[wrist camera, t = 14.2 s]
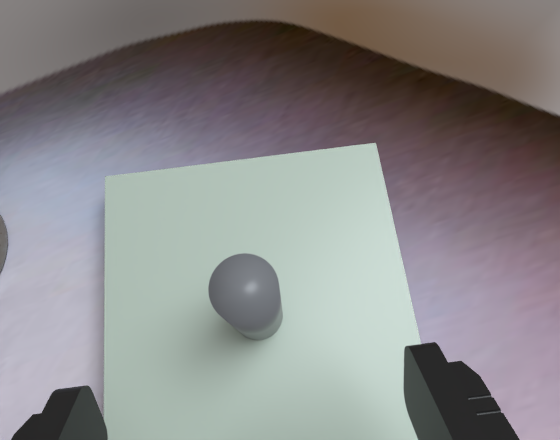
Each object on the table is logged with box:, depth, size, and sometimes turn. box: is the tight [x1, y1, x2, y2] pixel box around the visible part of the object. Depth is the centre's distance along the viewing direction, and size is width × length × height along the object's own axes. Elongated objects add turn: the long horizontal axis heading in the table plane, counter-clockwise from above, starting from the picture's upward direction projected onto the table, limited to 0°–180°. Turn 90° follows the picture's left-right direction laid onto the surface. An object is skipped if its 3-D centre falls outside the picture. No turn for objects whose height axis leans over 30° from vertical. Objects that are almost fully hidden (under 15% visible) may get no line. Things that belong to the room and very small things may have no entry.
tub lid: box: [104, 143, 421, 440], centre depth 19 cm, size 15×17×10 cm
